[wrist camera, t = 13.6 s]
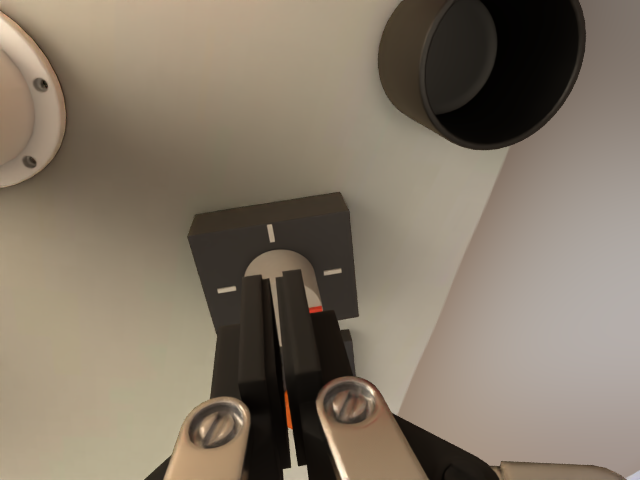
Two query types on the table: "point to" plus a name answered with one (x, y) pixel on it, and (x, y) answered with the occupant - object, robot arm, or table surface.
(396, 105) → the mug
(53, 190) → the table surface
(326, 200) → the panel
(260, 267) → the knob
